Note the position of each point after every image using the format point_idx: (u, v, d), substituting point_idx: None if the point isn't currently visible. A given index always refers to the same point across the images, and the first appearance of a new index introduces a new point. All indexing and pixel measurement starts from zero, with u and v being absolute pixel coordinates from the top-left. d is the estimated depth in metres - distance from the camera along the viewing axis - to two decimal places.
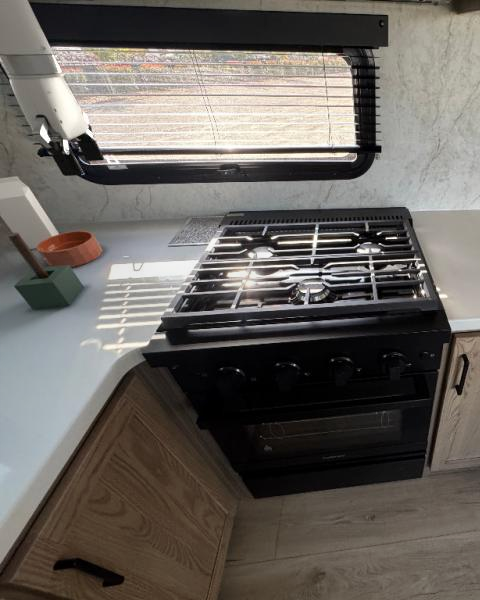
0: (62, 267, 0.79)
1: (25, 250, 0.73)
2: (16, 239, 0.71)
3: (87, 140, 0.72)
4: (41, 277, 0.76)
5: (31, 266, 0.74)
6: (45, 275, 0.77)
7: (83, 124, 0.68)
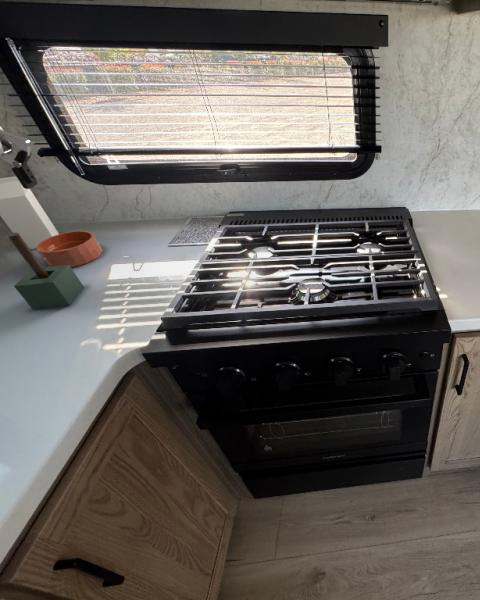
0: (62, 267, 0.79)
1: (25, 250, 0.73)
2: (16, 239, 0.71)
3: None
4: (41, 277, 0.76)
5: (31, 266, 0.74)
6: (45, 275, 0.77)
7: None
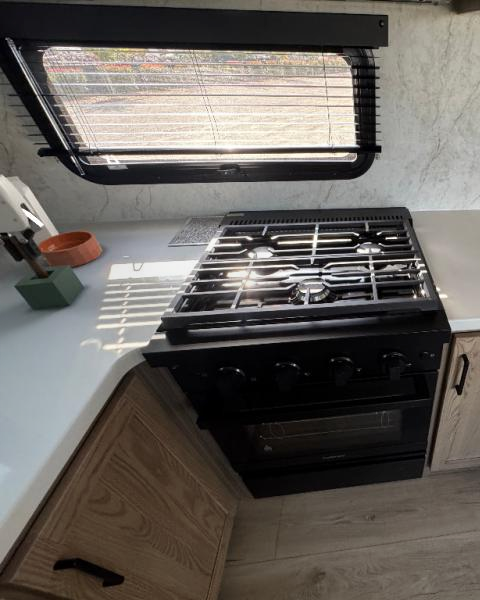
0: (62, 267, 0.79)
1: None
2: (16, 239, 0.71)
3: None
4: (41, 277, 0.76)
5: (31, 266, 0.74)
6: (45, 275, 0.77)
7: None
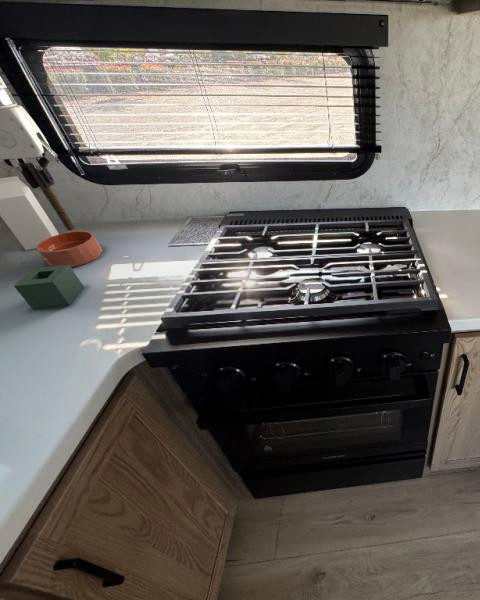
0: (62, 267, 0.79)
1: None
2: (32, 166, 0.80)
3: None
4: (54, 205, 0.86)
5: (45, 194, 0.84)
6: (58, 204, 0.86)
7: None
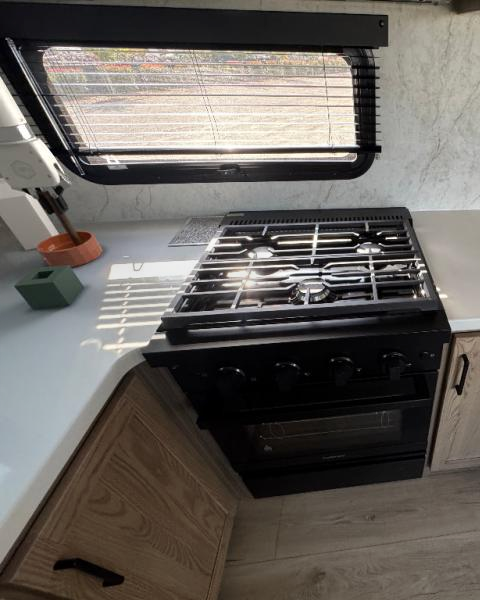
0: (62, 267, 0.79)
1: None
2: (48, 194, 0.84)
3: None
4: (68, 229, 0.90)
5: (60, 219, 0.88)
6: (71, 228, 0.90)
7: None
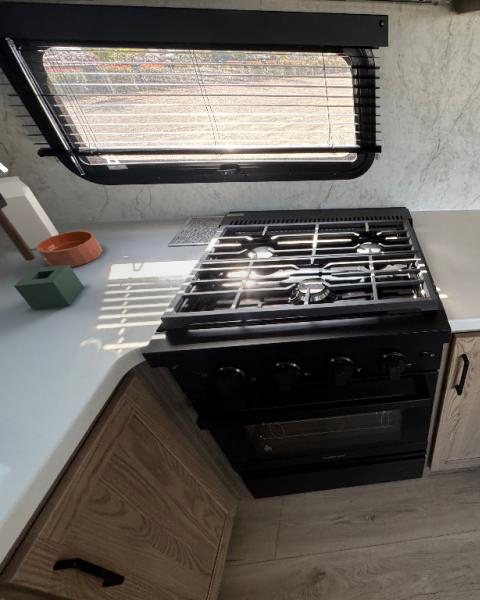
0: (62, 267, 0.79)
1: None
2: None
3: None
4: (7, 231, 0.69)
5: None
6: (12, 229, 0.70)
7: None
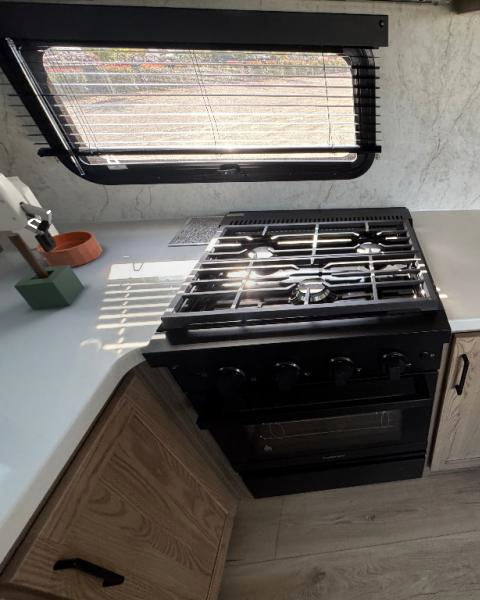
0: (62, 267, 0.79)
1: (25, 250, 0.73)
2: (16, 239, 0.71)
3: None
4: (41, 277, 0.76)
5: (31, 266, 0.74)
6: (46, 275, 0.77)
7: None
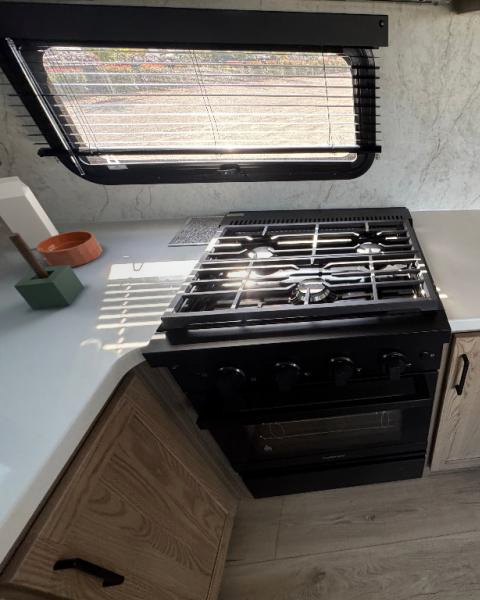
0: (62, 267, 0.79)
1: (25, 250, 0.73)
2: (16, 239, 0.71)
3: None
4: (41, 277, 0.76)
5: (31, 266, 0.74)
6: (46, 275, 0.77)
7: None
